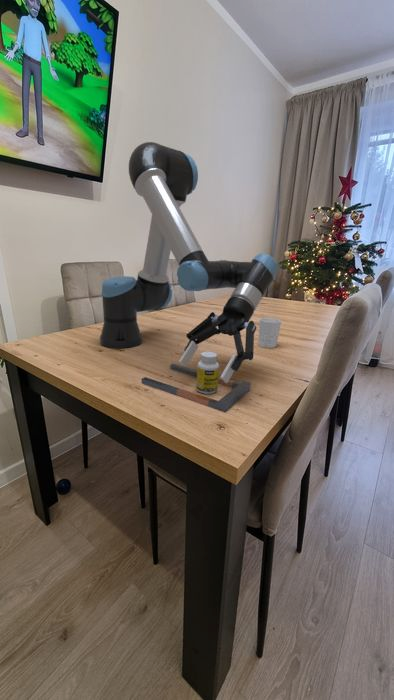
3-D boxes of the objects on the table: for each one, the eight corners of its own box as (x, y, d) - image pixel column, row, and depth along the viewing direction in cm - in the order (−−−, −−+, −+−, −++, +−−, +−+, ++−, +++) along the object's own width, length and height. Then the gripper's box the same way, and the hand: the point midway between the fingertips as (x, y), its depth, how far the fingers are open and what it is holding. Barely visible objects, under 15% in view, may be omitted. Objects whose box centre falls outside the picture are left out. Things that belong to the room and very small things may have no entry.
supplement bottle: (202, 396, 75) (204, 359, 72) (192, 387, 80) (194, 351, 76) (221, 392, 78) (224, 356, 74) (210, 383, 82) (212, 349, 79)
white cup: (276, 343, 120) (279, 318, 117) (279, 349, 113) (282, 323, 110) (256, 341, 121) (258, 317, 118) (257, 348, 113) (260, 321, 110)
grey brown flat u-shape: (141, 382, 81) (141, 376, 80) (173, 367, 92) (173, 361, 91) (225, 411, 68) (225, 403, 68) (250, 389, 80) (250, 382, 79)
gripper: (288, 321, 76) (249, 395, 70) (211, 306, 91) (174, 365, 86) (281, 302, 70) (238, 380, 64) (200, 289, 86) (160, 351, 80)
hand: (201, 371), depth 75 cm, fingers open, 13 cm apart
